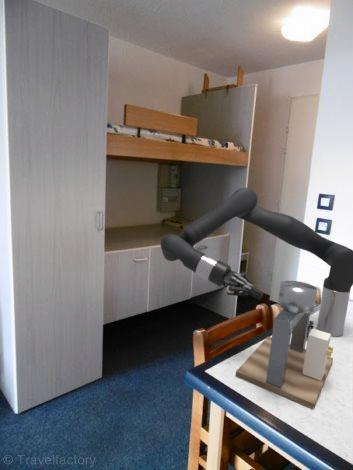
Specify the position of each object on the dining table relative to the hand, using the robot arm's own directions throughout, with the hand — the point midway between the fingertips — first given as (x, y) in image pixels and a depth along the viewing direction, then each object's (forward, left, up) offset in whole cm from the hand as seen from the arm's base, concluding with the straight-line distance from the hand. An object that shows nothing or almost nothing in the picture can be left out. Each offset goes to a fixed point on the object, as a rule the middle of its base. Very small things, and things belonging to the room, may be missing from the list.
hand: (261, 296), depth 101 cm
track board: (-1, +10, -20) cm, 22 cm away
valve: (-26, +1, -20) cm, 33 cm away
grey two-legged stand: (-1, +10, -18) cm, 21 cm away
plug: (-2, +18, -18) cm, 25 cm away
